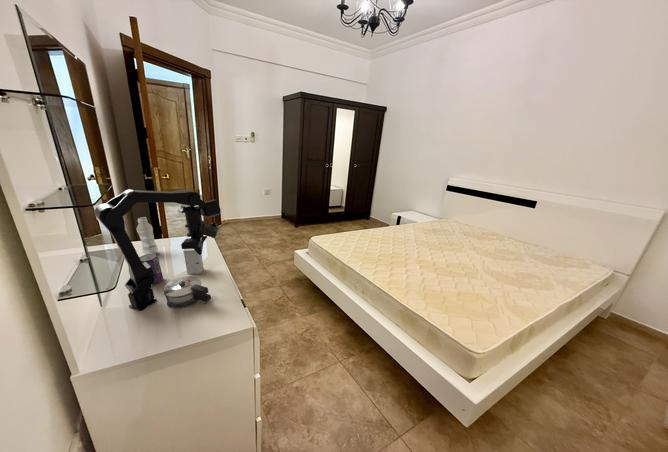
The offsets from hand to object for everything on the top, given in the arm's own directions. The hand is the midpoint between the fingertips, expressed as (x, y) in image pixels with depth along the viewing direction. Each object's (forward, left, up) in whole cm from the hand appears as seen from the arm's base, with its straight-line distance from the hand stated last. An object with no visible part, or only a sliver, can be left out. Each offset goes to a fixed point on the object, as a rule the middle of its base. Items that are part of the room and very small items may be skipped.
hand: (200, 254), depth 109 cm
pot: (-14, -7, -12) cm, 20 cm away
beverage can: (-10, +18, -12) cm, 24 cm away
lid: (-14, -7, -7) cm, 17 cm away
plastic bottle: (+7, +41, -12) cm, 44 cm away
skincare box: (+3, +8, -12) cm, 15 cm away
